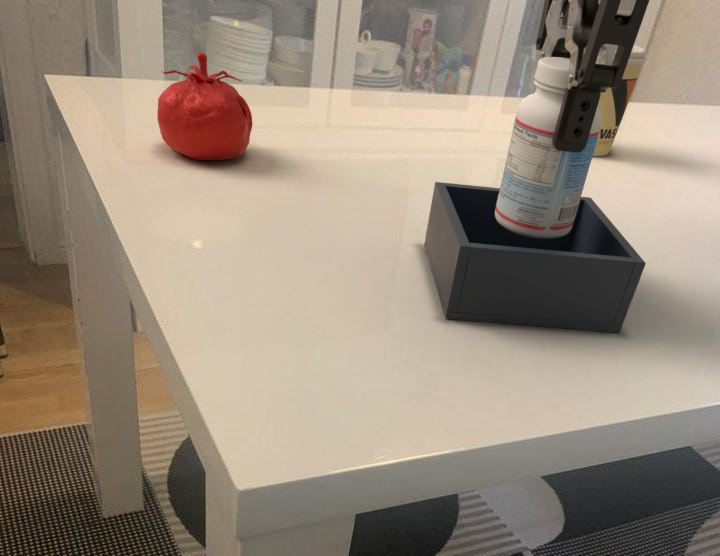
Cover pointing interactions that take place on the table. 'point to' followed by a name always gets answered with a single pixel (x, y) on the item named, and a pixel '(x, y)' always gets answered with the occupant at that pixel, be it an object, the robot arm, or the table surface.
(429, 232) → the dark grey open box
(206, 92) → the red tomato
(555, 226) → the pill bottle
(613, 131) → the coffee cup
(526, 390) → the table surface
